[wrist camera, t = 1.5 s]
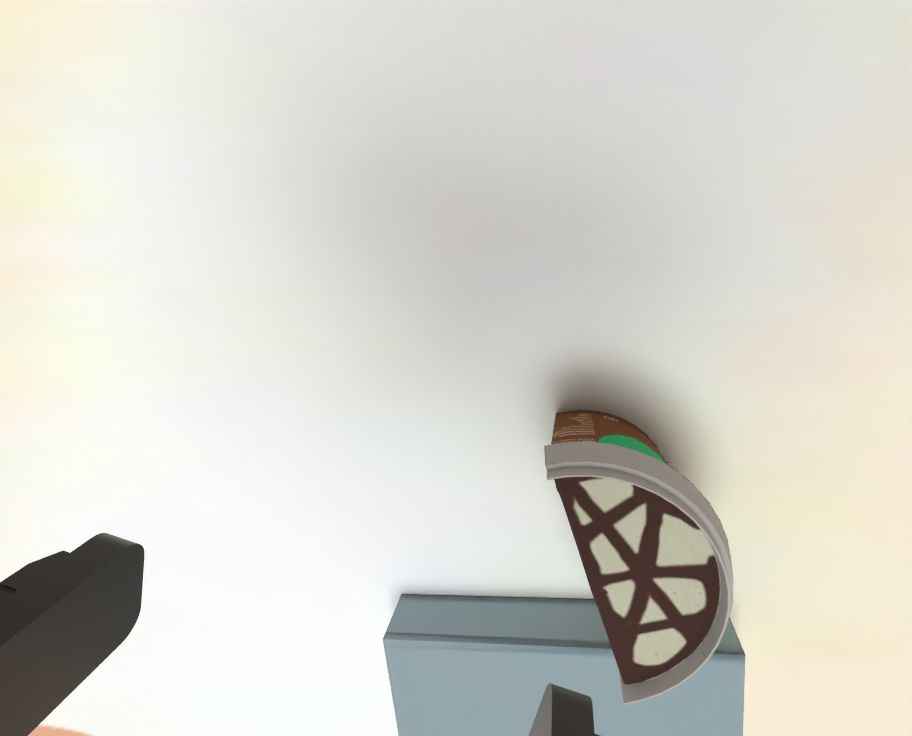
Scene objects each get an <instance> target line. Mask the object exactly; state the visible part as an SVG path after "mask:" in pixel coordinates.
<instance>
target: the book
mask: <svg viewBox="0 0 912 736" xmlns="http://www.w3.org/2000/svg"><path fill="white" fill-rule="evenodd" d="M383 643H384V649H385V655H386V661H387V667H388V673H389V679H390V685H391V691H392V697H393V703H394V709H395V715H396V721H397V727H398V733H399V736H529V733H530V730H531V728H532V725H533V722H534V719H535V717H536V714H537V711H538V708H539V706H540V703H541V700H542V697H543V695H544V692H545V689H546V687H547V685H548V684H549V683H551V684H554V685H557V686H560V687H563V688H566V689H569V690H572V691H575V692H578V693H581V694H584V695H587V696H590V697H591V700H592V704H593V718H594V733H595V734H597V735H600V736H743V711H744V677H745V653H744V651H743V648H742V646H741V644H740V641H739V639H738V637H737V634H736V632H735V629H734V627H733V625H732V622H731V620H730V617H729V619H728V622H727V626H726V629H725V632H724V634H723V636H722V639H721V641H720V643H719V645H718V647H717V648H716V650H715V651H714V653H713V654H712V656H711V657H710V659H709V660H708V661H707V662H706V663H705V664H704V665H703V667H702V668H701V669H700V670H699V671H698V672H697V673H696V674H695V675H693V676H692V677H691V678H689V679H688V680H686V681H685V682H684V683H682V684H681V685H680V686H678V687H676V688H674V689H672V690H670V691H668V692H666V693H664V694H662V695H659V696H657V697H654V698H651V699H648V700H645V701H641V702H636V703H631V704H626V705H624V702H623V695H622V688H621V681H620V675H619V669H618V666H617V663H616V660H615V657H614V654H613V651H612V648H611V645H610V642H609V639H608V636H607V633H606V630H605V628H604V625H603V622H602V619H601V616H600V613H599V610H598V607H597V605H596V602H595V599H561V598H523V597H484V596H446V595H408V594H401V597H400V599H399V602H398V604H397V606H396V609H395V611H394V614H393V616H392V618H391V621H390V623H389V626H388V628H387V631H386V633H385V635H384V638H383Z"/></svg>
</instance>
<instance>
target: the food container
mask: <svg viewBox="0 0 912 736" xmlns="http://www.w3.org/2000/svg"><path fill="white" fill-rule="evenodd" d="M544 447H545V465H546V468H547V480H552V479H554V480H555V483H556V488H557V490H558V492H559V494H560V497H561V499H562V502H563V505H564V508H565V511H566V514H567V517H568V520H569V523H570V526H571V529H572V532H573V535H574V538H575V541H576V544H577V547H578V550H579V553H580V557H581V560H582V563H583V566H584V569H585V572H586V576H587V579H588V582H589V585H590V588H591V591H592V594H593V596H594V599H595V602H596V605H597V607H598V610H599V613H600V616H601V619H602V622H603V625H604V628H605V630H606V633H607V636H608V639H609V642H610V645H611V648H612V651H613V654H614V657H615V660H616V663H617V666H618V669H619V675H620V681H621V688H622V695H623V702H624V705H626V704H631V703H636V702H641V701H645V700H648V699H651V698H654V697H657V696H659V695H662V694H664V693H666V692H668V691H670V690H672V689H674V688H676V687H678V686H680V685H681V684H682V683H684V682H685V681H686V680H688V679H689V678H691V677H692V676H693V675H695V674H696V673H697V672H698V671H699V670H700V669H701V668H702V667H703V665H704V664H705V663H706V662H707V661H708V660H709V659H710V657H711V656H712V654H713V653H714V651H715V650H716V648H717V647H718V645H719V643H720V641H721V639H722V636H723V634H724V632H725V629H726V626H727V622H728V619H729V615H730V611H731V606H732V602H733V573H732V564H731V556H730V551H729V545H728V540H727V537H726V534H725V532H724V529H723V527H722V524H721V521H720V519H719V518H718V516H717V514H716V513H715V511H714V510H713V508H712V506H711V505H710V503H709V502H708V500H707V499H706V498H705V497H704V496H703V495H702V494H701V492H700V491H699V490H698V489H697V488H696V487H695V486H694V485H693V484H692V483H691V482H690V481H688V480H687V479H686V478H685V477H684V476H682V475H681V474H680V473H679V472H677V471H676V470H674V469H673V468H671V467H669V466H668V465H667V463H666V462H665V460H664V458H663V457H662V455H661V453H660V452H659V450H658V449H657V447H656V445H655V444H654V443H653V442H652V441H651V439H650V438H649V437H648V436H647V435H646V434H645V433H644V432H642V431H641V430H640V429H639V428H637V427H636V426H635V425H633V424H631V423H629V422H628V421H626V420H624V419H622V418H619V417H616V416H614V415H611V414H607V413H603V412H598V411H587V410H579V411H568V412H563V413H558V414H556V417H555V424H554V430H553V437H552V443H551V445H548V446H544Z"/></svg>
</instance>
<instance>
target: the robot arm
mask: <svg viewBox="0 0 912 736" xmlns="http://www.w3.org/2000/svg"><path fill="white" fill-rule="evenodd" d="M143 567H144V549H143V547H142V546H141V545H140V544H137V543H134V542H131V541H128V540H125V539H122V538H119V537H116V536H113V535H110V534H107V533H101V534H98V535H96V536H94V537H92V538H91V539H90V540H88V541H87V542H85V543H84V544H82V545H81V546H80V547H78V548H77V549H75V550H74V551H72V552H71V553H68V552H66V551H61V552H58V553H56V554H53V555H50V556H48V557H45V558H42V559H40V560H37V561H35V562H32V563H29V564H28V565H26V566H25V567H23V568H22V569H20V570H18V571H17V572H15V573H14V574H12V575H11V576H9V577H8V578H6V579H5V580H3V581H2V582H0V736H28V735H29V734H30V733H31V732H32V731H33V730H34V729H35V728H36V727H37V726H38V725H39V724H40V723H41V722H42V721H43V720H44V719H45V718H46V717H47V716H48V715H49V714H50V713H51V712H52V711H53V710H54V709H55V708H56V707H57V706H58V705H59V704H60V703H61V702H62V701H63V700H64V699H65V698H66V697H67V696H68V695H69V694H70V693H71V692H72V691H73V690H74V689H75V688H76V687H77V686H78V685H79V684H80V683H81V682H83V681H84V680H85V679H86V678H87V677H88V676H89V675H90V674H91V673H92V672H93V671H94V670H95V669H96V668H97V667H98V666H99V665H100V664H101V663H102V662H103V661H104V660H105V659H106V658H107V657H108V656H109V655H110V654H111V653H112V652H113V651H114V650H115V649H116V648H117V647H118V646H119V645H120V644H121V643H122V642H123V641H124V640H125V639H126V637H127V636H128V635H129V633H130V632H131V630H132V629H133V627H134V625H135V623H136V621H137V619H138V616H139V613H140V609H141V597H142V582H143ZM529 736H600V735H597V734H595V733H594V718H593V704H592V700H591V697H590V696H587V695H584V694H581V693H578V692H575V691H572V690H569V689H566V688H563V687H560V686H557V685H554V684H551V683H549V684H548V685H547V687H546V689H545V692H544V695H543V697H542V700H541V703H540V706H539V708H538V711H537V714H536V717H535V719H534V722H533V725H532V728H531V730H530V733H529Z"/></svg>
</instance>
